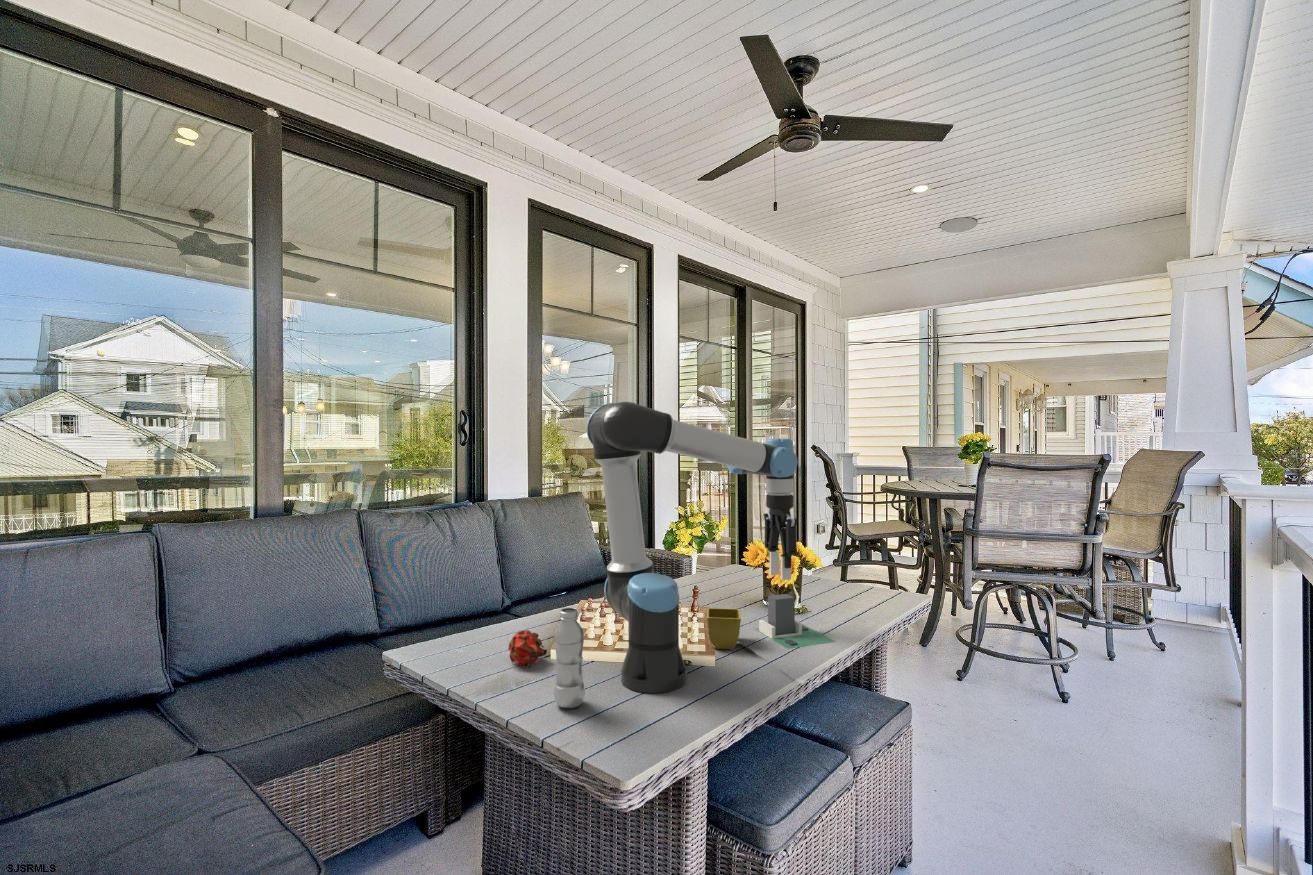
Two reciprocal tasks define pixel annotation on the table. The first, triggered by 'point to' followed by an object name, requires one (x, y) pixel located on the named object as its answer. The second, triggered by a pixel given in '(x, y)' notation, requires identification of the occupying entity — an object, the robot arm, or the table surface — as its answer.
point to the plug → (781, 613)
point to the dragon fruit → (526, 648)
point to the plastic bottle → (569, 660)
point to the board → (794, 635)
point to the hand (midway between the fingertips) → (780, 576)
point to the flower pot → (723, 627)
